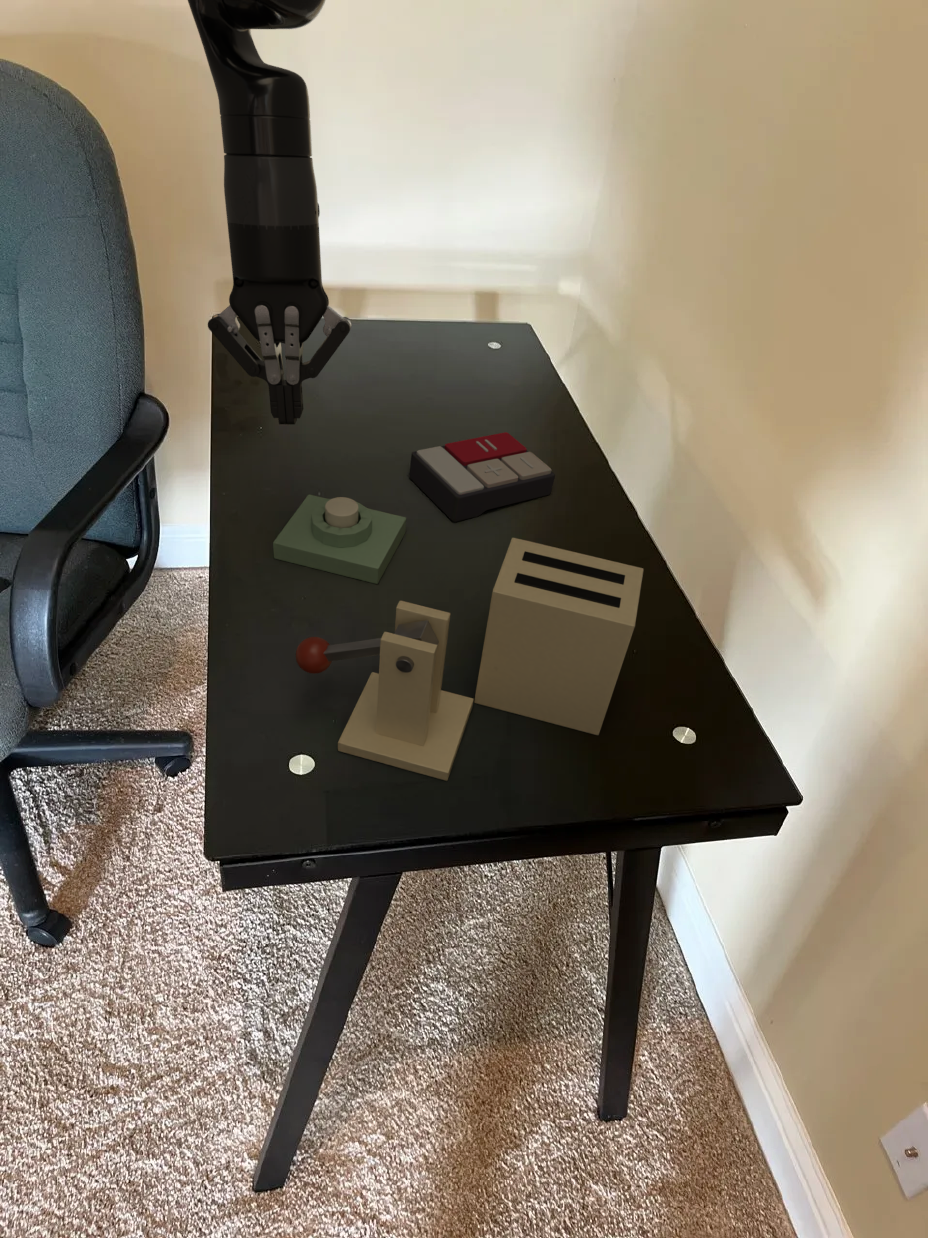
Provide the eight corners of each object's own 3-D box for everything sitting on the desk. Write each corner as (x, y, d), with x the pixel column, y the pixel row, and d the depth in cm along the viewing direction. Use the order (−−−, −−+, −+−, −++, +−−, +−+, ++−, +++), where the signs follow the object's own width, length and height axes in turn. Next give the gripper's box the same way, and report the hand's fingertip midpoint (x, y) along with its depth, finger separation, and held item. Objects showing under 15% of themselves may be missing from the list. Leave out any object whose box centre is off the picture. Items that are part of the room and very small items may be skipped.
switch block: (273, 558, 91) (271, 529, 88) (308, 509, 98) (308, 480, 95) (377, 584, 89) (378, 555, 86) (405, 532, 96) (407, 504, 94)
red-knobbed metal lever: (300, 683, 72) (283, 656, 70) (314, 658, 74) (298, 631, 73) (432, 667, 67) (416, 637, 65) (442, 641, 69) (428, 612, 67)
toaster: (473, 703, 78) (492, 589, 68) (492, 647, 84) (512, 535, 74) (598, 735, 77) (635, 625, 67) (608, 676, 82) (644, 566, 73)
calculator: (558, 469, 103) (458, 492, 96) (551, 498, 106) (453, 522, 98) (508, 427, 109) (410, 446, 102) (502, 456, 112) (407, 476, 105)
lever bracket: (337, 751, 72) (337, 647, 64) (371, 680, 79) (375, 577, 70) (447, 781, 71) (462, 680, 62) (472, 706, 78) (489, 605, 69)
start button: (320, 524, 90) (320, 511, 89) (332, 506, 93) (332, 493, 91) (351, 532, 90) (351, 519, 88) (362, 514, 92) (363, 501, 91)
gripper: (181, 218, 65) (208, 433, 74) (349, 223, 66) (356, 435, 75) (202, 212, 72) (225, 410, 80) (355, 217, 73) (361, 412, 81)
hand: (288, 421), depth 78 cm, fingers closed
